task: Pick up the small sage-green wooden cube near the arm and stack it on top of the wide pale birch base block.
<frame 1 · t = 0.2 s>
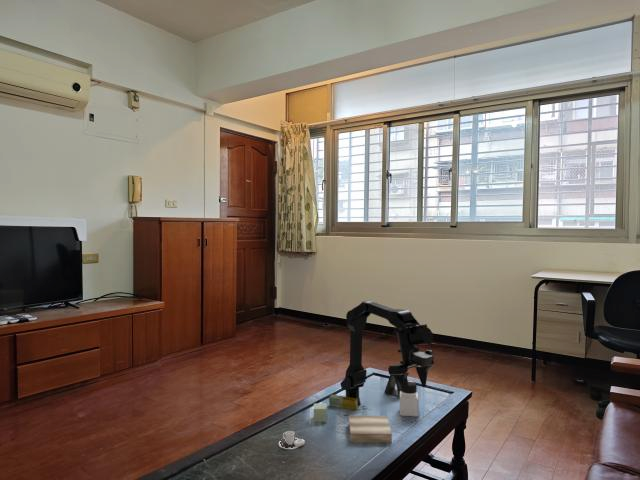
hand: (416, 389, 151), 15 cm above the table, tool pointing down, fingers open, 9 cm apart
medicine bottle: (409, 413, 168), on the table
phone stand: (396, 393, 188), on the table
teacup and saucer: (291, 449, 141), on the table
base block: (369, 432, 151), on the table
green cube: (320, 419, 163), on the table
medication box: (343, 407, 174), on the table
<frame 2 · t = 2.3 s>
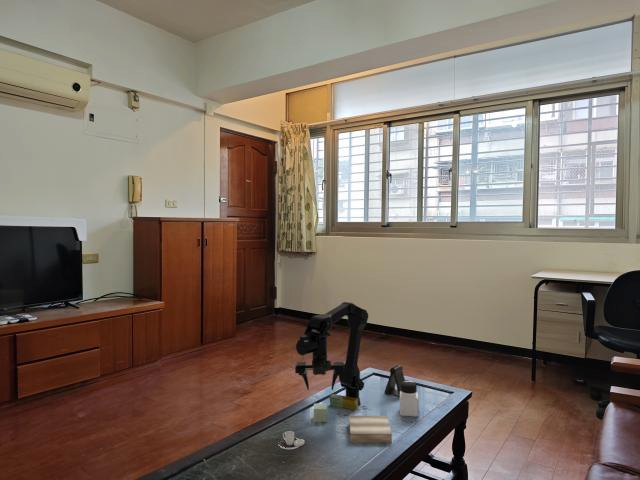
hand: (320, 389, 163), 11 cm above the table, tool pointing down, fingers open, 9 cm apart
nothing on the table moved.
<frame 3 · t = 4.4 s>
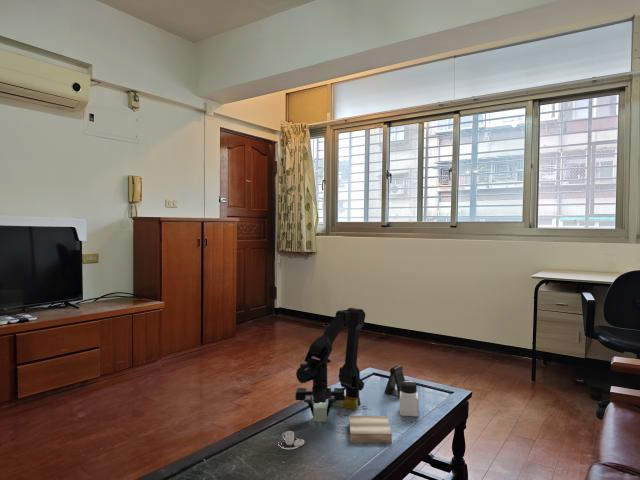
hand: (320, 416, 163), 1 cm above the table, tool pointing down, fingers closed on green cube, 5 cm apart
green cube: (320, 418, 163), on the table, touching gripper
everything else where it was.
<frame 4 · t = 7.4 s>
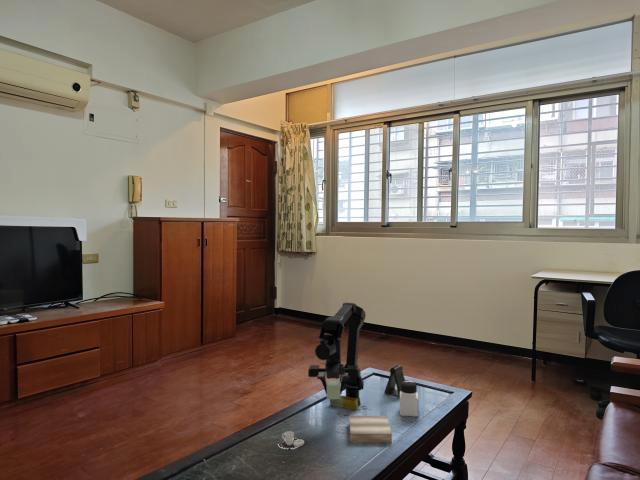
hand: (333, 393, 159), 11 cm above the table, tool pointing down, fingers closed on green cube, 5 cm apart
green cube: (333, 396, 159), point 10 cm above the table, touching gripper
everything else where it was.
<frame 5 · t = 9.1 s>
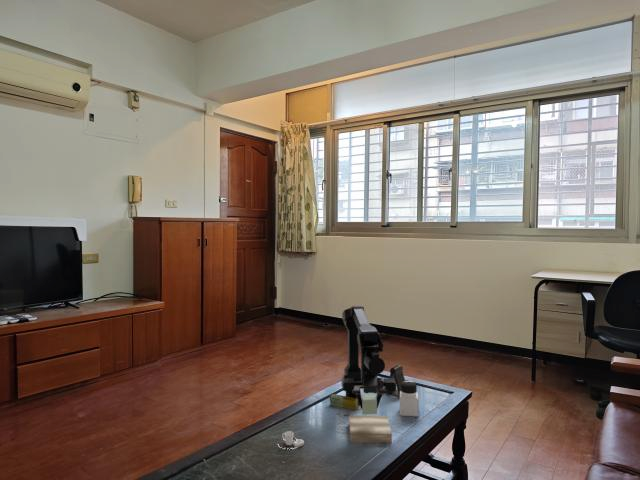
hand: (369, 408, 151), 9 cm above the table, tool pointing down, fingers closed on green cube, 5 cm apart
green cube: (369, 411, 151), point 8 cm above the table, touching gripper
everything else where it was.
when the fingers open (5 cm above the table, at t = 10.6 s): green cube drops 1 cm, resting on base block.
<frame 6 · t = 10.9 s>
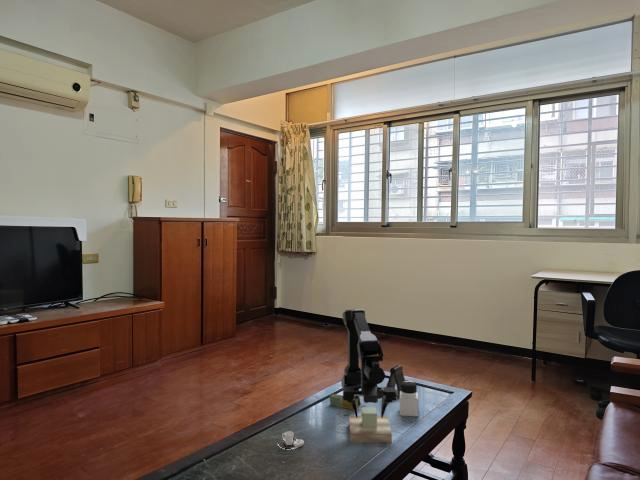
hand: (369, 417, 151), 5 cm above the table, tool pointing down, fingers open, 9 cm apart
green cube: (369, 424, 151), point 3 cm above the table, touching base block
everything else where it was.
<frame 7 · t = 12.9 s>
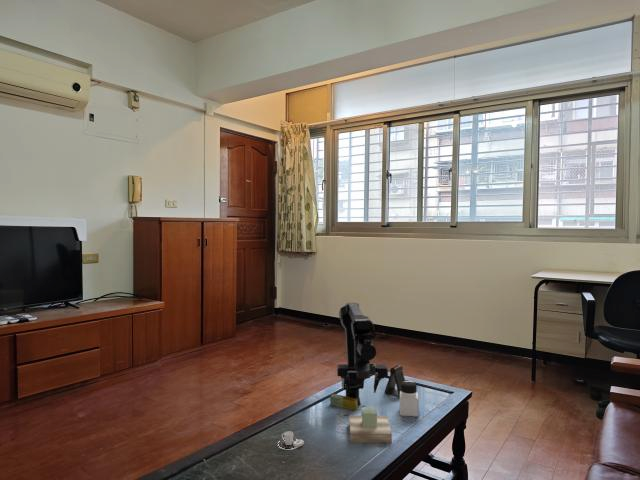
hand: (362, 392, 159), 11 cm above the table, tool pointing down, fingers open, 9 cm apart
nothing on the table moved.
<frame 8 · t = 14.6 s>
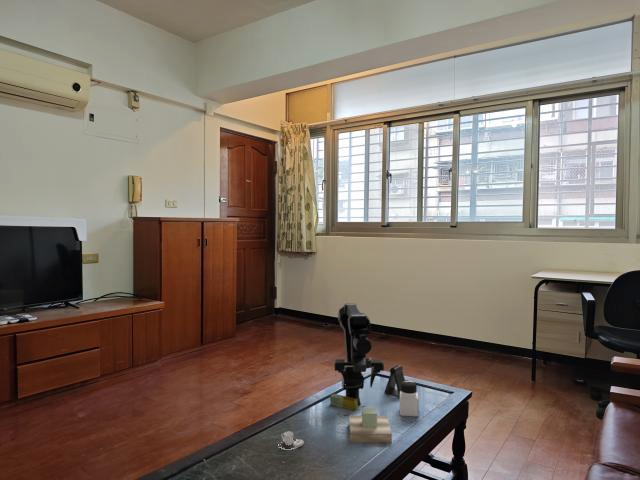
hand: (358, 387, 163), 12 cm above the table, tool pointing down, fingers open, 9 cm apart
medication box: (343, 407, 174), on the table, touching arm
everything else where it was.
at the end: green cube inside the target area on the base block (0.0 cm from its centre), point 3.0 cm above the base block's base; green cube tilted 0°; the gripper is holding nothing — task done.
